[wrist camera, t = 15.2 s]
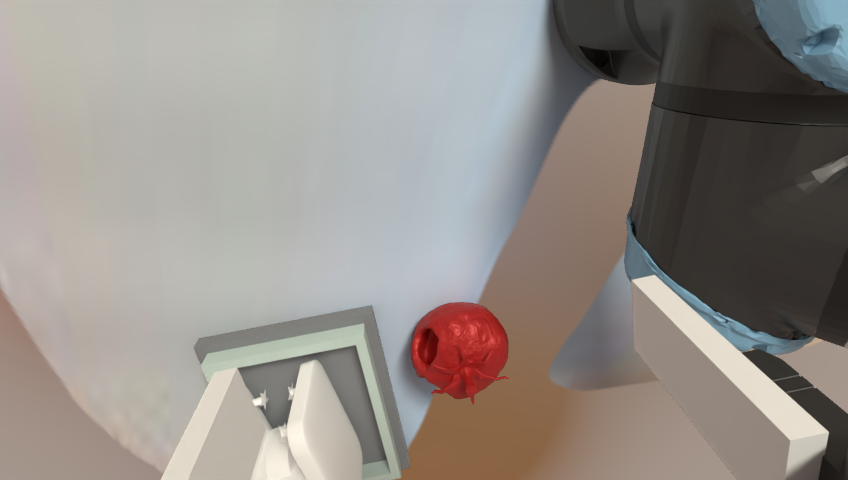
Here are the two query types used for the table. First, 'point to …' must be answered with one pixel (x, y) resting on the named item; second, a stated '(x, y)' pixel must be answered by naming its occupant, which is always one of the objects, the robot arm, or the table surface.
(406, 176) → the table surface
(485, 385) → the red tomato
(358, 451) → the cable organizer
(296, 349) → the grey green tray
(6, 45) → the table surface
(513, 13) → the table surface
